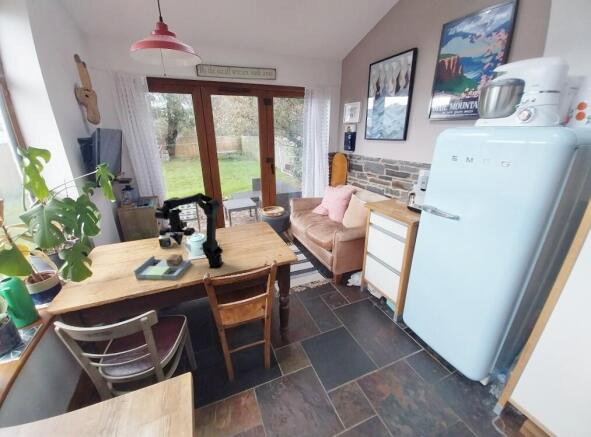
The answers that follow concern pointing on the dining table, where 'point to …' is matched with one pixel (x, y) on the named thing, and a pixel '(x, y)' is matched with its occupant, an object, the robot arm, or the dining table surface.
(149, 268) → the box
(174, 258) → the walnut block
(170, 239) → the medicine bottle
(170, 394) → the dining table surface
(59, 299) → the dining table surface
